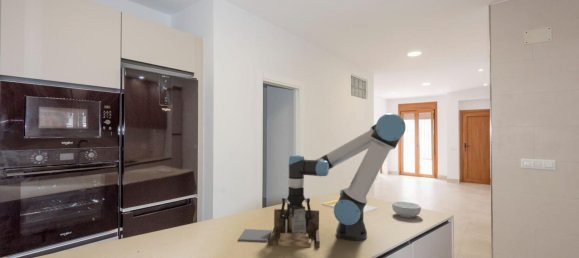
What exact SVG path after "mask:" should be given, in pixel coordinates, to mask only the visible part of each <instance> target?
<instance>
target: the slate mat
mask: <svg viewBox="0 0 579 258" xmlns="http://www.w3.org/2000/svg"><path fill="white" fill-rule="evenodd" d="M272 231H273V229H251V228H250V229H249V228H248V229H247V228H245V229H244V230H243V232H242V233H241V234H240V236H239V237H238V239H237V240H238V242H258V243H259V242H260V243H269V238H270V236H271V233H272Z"/></svg>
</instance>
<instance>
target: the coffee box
mask: <svg viewBox="0 0 579 258" xmlns="http://www.w3.org/2000/svg"><path fill="white" fill-rule="evenodd" d="M289 205H290V202H289V203H287V204H286V209H288V207H289ZM305 210H306V207H305V206H304V205H303V206H302V207H301V206H295V205H292V206H290V211H289V213H288V215H287V218H288V231H287V233H305Z"/></svg>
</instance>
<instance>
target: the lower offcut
mask: <svg viewBox="0 0 579 258" xmlns="http://www.w3.org/2000/svg"><path fill="white" fill-rule="evenodd" d="M277 245H278V247H312V239H311V238H309V242H280V237H278V243H277Z"/></svg>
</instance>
